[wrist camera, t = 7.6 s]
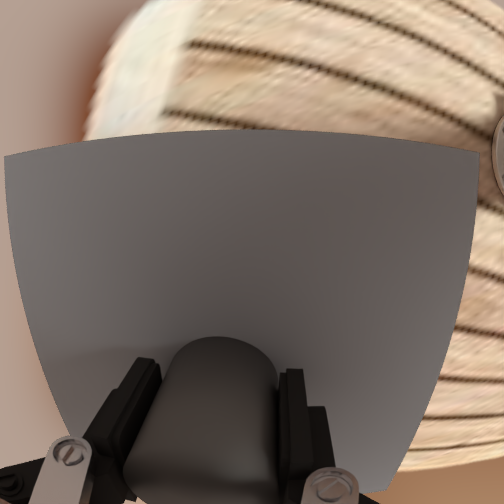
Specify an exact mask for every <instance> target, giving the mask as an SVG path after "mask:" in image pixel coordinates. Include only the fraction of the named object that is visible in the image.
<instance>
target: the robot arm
mask: <svg viewBox="0 0 504 504" xmlns="http://www.w3.org/2000/svg"><path fill="white" fill-rule="evenodd" d="M492 161H493V169H494V173H495V177H496V180H497V183H498V186H499V188H500V190H501V192H502V194H503V195H504V115H503V117H502V118H501V119H500V121H499V122H498V125H497V127H496V129H495V133H494V136H493V144H492ZM161 383H162V375H161V369H160V365H159V364H158V363H155V360H154V359H152V358H144V357H137V358H136V360H135V361H134V363H133V365H132V366H131V368H130V369H129V371H128V372H127V374H126V376H125V377H124V379H123V380H122V382H121V384H120V385H119V387H118V388H117V389H116V388H115V389H113V390H112V391H111V392H110V394H109V395H108V397H107V398H106V400H105V401H104V403H103V405H102V406H101V408H100V409H99V411H98V412H97V414H96V416H95V417H94V419H93V420H92V422H91V424H90V425H89V427H88V428H87V430H86V432H85V433H84V435H83V437H82V438H81V437H78V436H65V437H61V438H59V439H57V440H56V441H55V442H53V443H52V445H51V447H50V448H49V450H48V453H47V455H46V457H44V458H40V459H37V460H33V461H29V462H25V463H21V464H17V465H13V466H9V467H4V468H2V469H0V504H123V503H124V501H125V499H126V500H130V501H134V502H136V499H137V496H136V495H135V494H134V493H133V492H132V491H131V489H130V488H129V487H128V485H127V484H126V482H125V480H124V477H123V467H124V464H125V462H126V460H127V457H128V455H129V453H130V451H131V449H132V446H133V444H134V442H135V440H136V437H137V435H138V433H139V431H140V429H141V426H142V424H143V422H144V420H145V418H146V416H147V413H148V411H149V409H150V407H151V405H152V402H153V400H154V398H155V396H156V394H157V392H158V390H159V387H160V385H161ZM278 484H279V503H278V504H379V503H377V502H376V501H374V500H372V499H370V498H368V497H366V496H365V495H363V494H361V493H359V485H358V481H357V479H356V478H355V476H354V475H353V474H351V473H350V472H349V471H347V470H344V469H342V468H337V467H336V465H335V459H334V453H333V447H332V441H331V435H330V429H329V424H328V418H327V413H326V408H325V406H308V405H307V397H306V388H305V380H304V373H303V369H295V368H286V373H283V372H280V375H279V387H278Z"/></svg>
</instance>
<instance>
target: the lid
mask: <svg viewBox="0 0 504 504" xmlns="http://www.w3.org/2000/svg"><path fill="white" fill-rule="evenodd" d="M479 159H480V153H478V152H473V151H468V150H463V149H458V148H453V147H447V146H442V145H436V144H430V143H423V142H416V141H409V140H402V139H394V138H386V137H377V136H368V135H357V134H346V133H333V132H317V131H295V130H205V131H183V132H167V133H154V134H142V135H132V136H123V137H114V138H106V139H98V140H90V141H83V142H77V143H70V144H64V145H59V146H53V147H48V148H42V149H37V150H32V151H27V152H22V153H17V154H13V155H9V156H5V157H4V164H5V188H6V202H7V213H8V222H9V230H10V238H11V244H12V251H13V257H14V262H15V268H16V274H17V278H18V284H19V288H20V292H21V297H22V301H23V305H24V309H25V313H26V317H27V321H28V325H29V328H30V331H31V335H32V338H33V342H34V345H35V348H36V351H37V354H38V357H39V360H40V363H41V366H42V369H43V371H44V374H45V377H46V380H47V382H48V385H49V388H50V390H51V392H52V395H53V397H54V400H55V403H56V405H57V407H58V409H59V412H60V414H61V416H62V419H63V421H64V423H65V425H66V427H67V429H68V432H69V434H70V436H78V437H81V438H82V437H83V435H84V433H85V432H86V430H87V428H88V427H89V425H90V424H91V422H92V420H93V419H94V417H95V416H96V414H97V412H98V411H99V409H100V408H101V406H102V405H103V403H104V401H105V400H106V398H107V397H108V395H109V394H110V392H111V391H112V390H113V389H115V388H116V389H117V388H118V387H119V385H120V384H121V382H122V380H123V379H124V377H125V376H126V374H127V372H128V371H129V369H130V368H131V366H132V365H133V363H134V361H135V360H136V358H137V357H144V358H152V359H154V360H155V363H158V364H159V365H160V369H161V375H162V383H161V385H160V387H159V390H158V392H157V394H156V396H155V398H154V400H153V402H152V405H151V407H150V409H149V411H148V413H147V416H146V418H145V420H144V422H143V424H142V426H141V429H140V431H139V433H138V435H137V437H136V440H135V442H134V444H133V446H132V449H131V451H130V453H129V455H128V457H127V460H126V462H125V464H124V467H123V477H124V480H125V482H126V484H127V485H128V487H129V488H130V489H131V491H132V492H133V493H134V494H135V495H136V496H137V497H139V498H140V499H141V500H142V501H144V502H145V503H147V504H278V503H279V484H278V387H279V375H280V372H283V373H286V368H295V369H303V373H304V380H305V388H306V397H307V405H308V406H325V408H326V413H327V418H328V424H329V429H330V435H331V441H332V447H333V453H334V459H335V465H336V467H337V468H342V469H344V470H347V471H349V472H350V473H351V474H353V475H354V476H355V478H356V479H357V481H358V485H359V493H361V494H364V493H370V492H378V491H384V490H387V488H388V486H389V484H390V482H391V481H392V479H393V477H394V475H395V474H396V472H397V470H398V468H399V466H400V464H401V462H402V460H403V458H404V456H405V454H406V452H407V450H408V448H409V446H410V444H411V442H412V440H413V438H414V436H415V434H416V431H417V429H418V427H419V425H420V422H421V420H422V418H423V416H424V413H425V411H426V408H427V406H428V403H429V401H430V398H431V396H432V393H433V391H434V388H435V385H436V383H437V380H438V377H439V374H440V371H441V368H442V365H443V362H444V359H445V356H446V353H447V350H448V347H449V343H450V340H451V337H452V333H453V330H454V326H455V322H456V319H457V315H458V311H459V307H460V302H461V298H462V294H463V289H464V285H465V280H466V275H467V270H468V264H469V259H470V253H471V246H472V240H473V233H474V225H475V216H476V207H477V195H478V181H479Z"/></svg>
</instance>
